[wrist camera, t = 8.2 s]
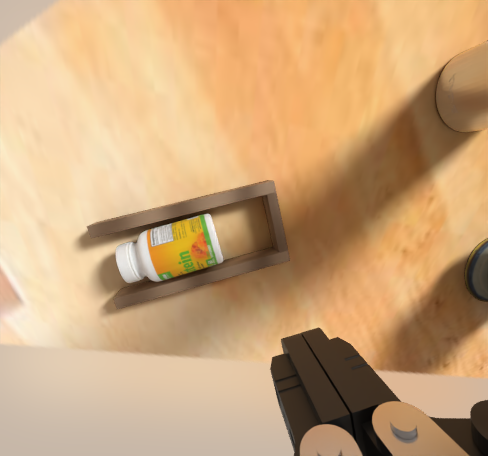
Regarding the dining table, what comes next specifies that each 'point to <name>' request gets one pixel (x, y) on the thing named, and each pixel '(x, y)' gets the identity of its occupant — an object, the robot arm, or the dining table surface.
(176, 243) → the supplement bottle
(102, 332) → the dining table surface
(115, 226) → the walnut U-rest
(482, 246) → the apothecary jar
